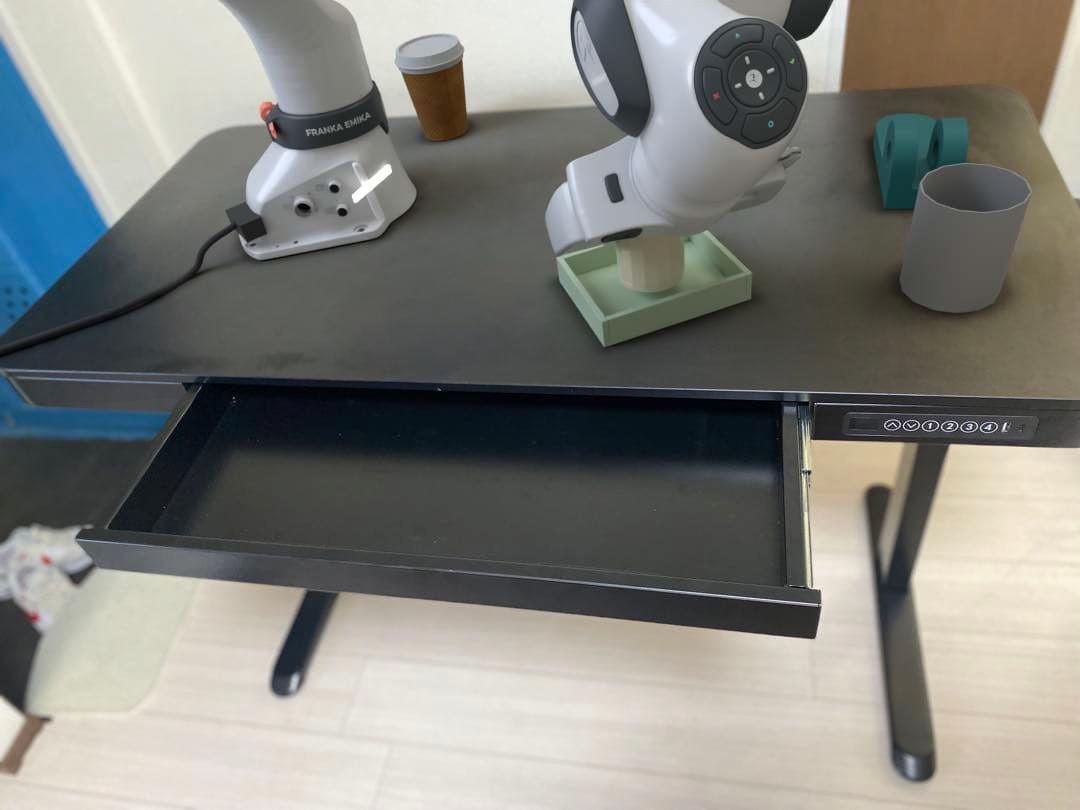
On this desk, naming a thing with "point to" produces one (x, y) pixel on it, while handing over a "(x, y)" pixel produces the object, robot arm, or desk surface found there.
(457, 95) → the disposable coffee cup
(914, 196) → the bracket
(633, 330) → the tray
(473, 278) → the desk surface
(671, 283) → the tumbler
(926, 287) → the cup
